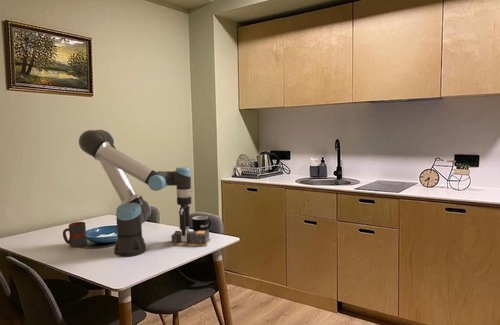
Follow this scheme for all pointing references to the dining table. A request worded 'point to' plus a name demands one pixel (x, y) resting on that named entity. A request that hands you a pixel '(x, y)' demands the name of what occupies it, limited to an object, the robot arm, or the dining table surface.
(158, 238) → the dining table surface
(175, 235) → the grey block assembly
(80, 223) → the mug
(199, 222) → the mug
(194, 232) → the cable bar
